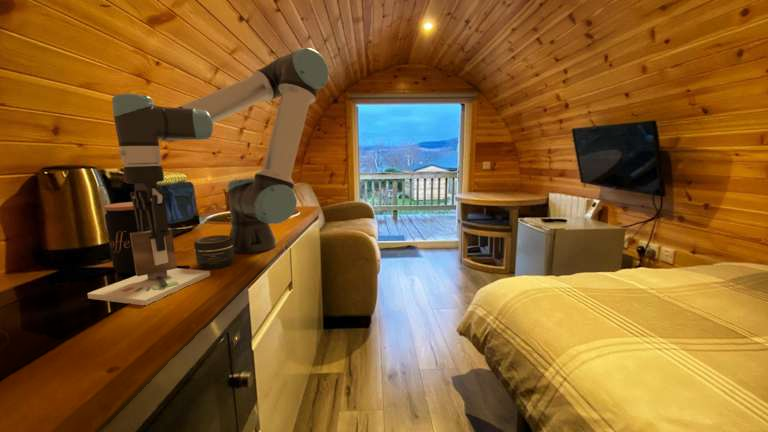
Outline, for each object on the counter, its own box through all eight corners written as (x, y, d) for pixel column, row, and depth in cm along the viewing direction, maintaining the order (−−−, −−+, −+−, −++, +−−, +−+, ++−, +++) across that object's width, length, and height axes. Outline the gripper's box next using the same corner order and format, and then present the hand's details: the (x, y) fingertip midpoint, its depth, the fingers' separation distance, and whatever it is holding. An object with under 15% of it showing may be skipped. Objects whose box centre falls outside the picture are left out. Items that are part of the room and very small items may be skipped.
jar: (237, 266, 93) (234, 240, 92) (196, 273, 88) (193, 245, 87) (233, 257, 102) (231, 233, 100) (196, 262, 97) (193, 237, 96)
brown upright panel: (136, 278, 80) (129, 232, 78) (174, 270, 86) (168, 227, 84) (143, 292, 72) (136, 240, 70) (185, 282, 78) (179, 234, 76)
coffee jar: (104, 272, 90) (92, 206, 87) (142, 260, 100) (133, 200, 97) (133, 275, 87) (122, 207, 83) (169, 263, 97) (161, 202, 94)
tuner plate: (160, 270, 90) (160, 266, 90) (210, 275, 86) (209, 270, 86) (88, 298, 73) (87, 292, 73) (146, 305, 69) (145, 299, 69)
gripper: (109, 165, 78) (126, 260, 83) (138, 166, 69) (155, 273, 74) (146, 164, 84) (159, 253, 89) (177, 164, 75) (190, 263, 80)
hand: (157, 261), depth 81 cm, fingers closed on brown upright panel, 3 cm apart
